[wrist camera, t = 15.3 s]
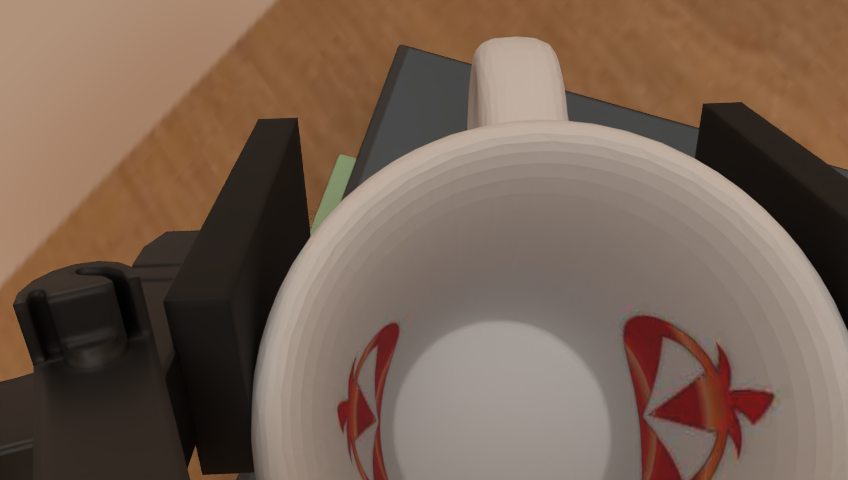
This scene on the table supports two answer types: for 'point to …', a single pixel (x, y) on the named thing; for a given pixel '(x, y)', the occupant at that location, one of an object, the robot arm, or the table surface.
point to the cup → (549, 314)
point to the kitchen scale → (460, 123)
